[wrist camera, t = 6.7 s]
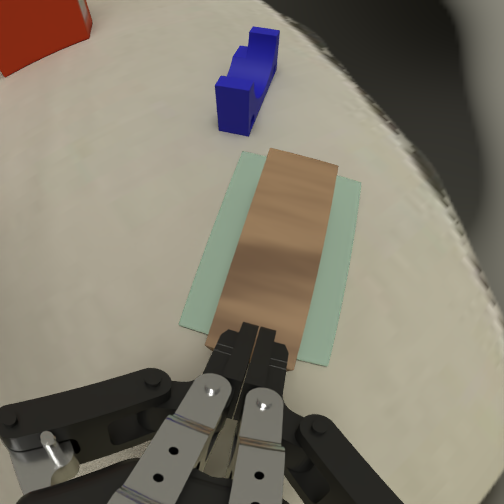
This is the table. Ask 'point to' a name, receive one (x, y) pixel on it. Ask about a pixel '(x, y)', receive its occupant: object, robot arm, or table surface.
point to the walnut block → (278, 251)
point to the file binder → (39, 29)
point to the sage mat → (329, 273)
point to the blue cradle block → (247, 82)
